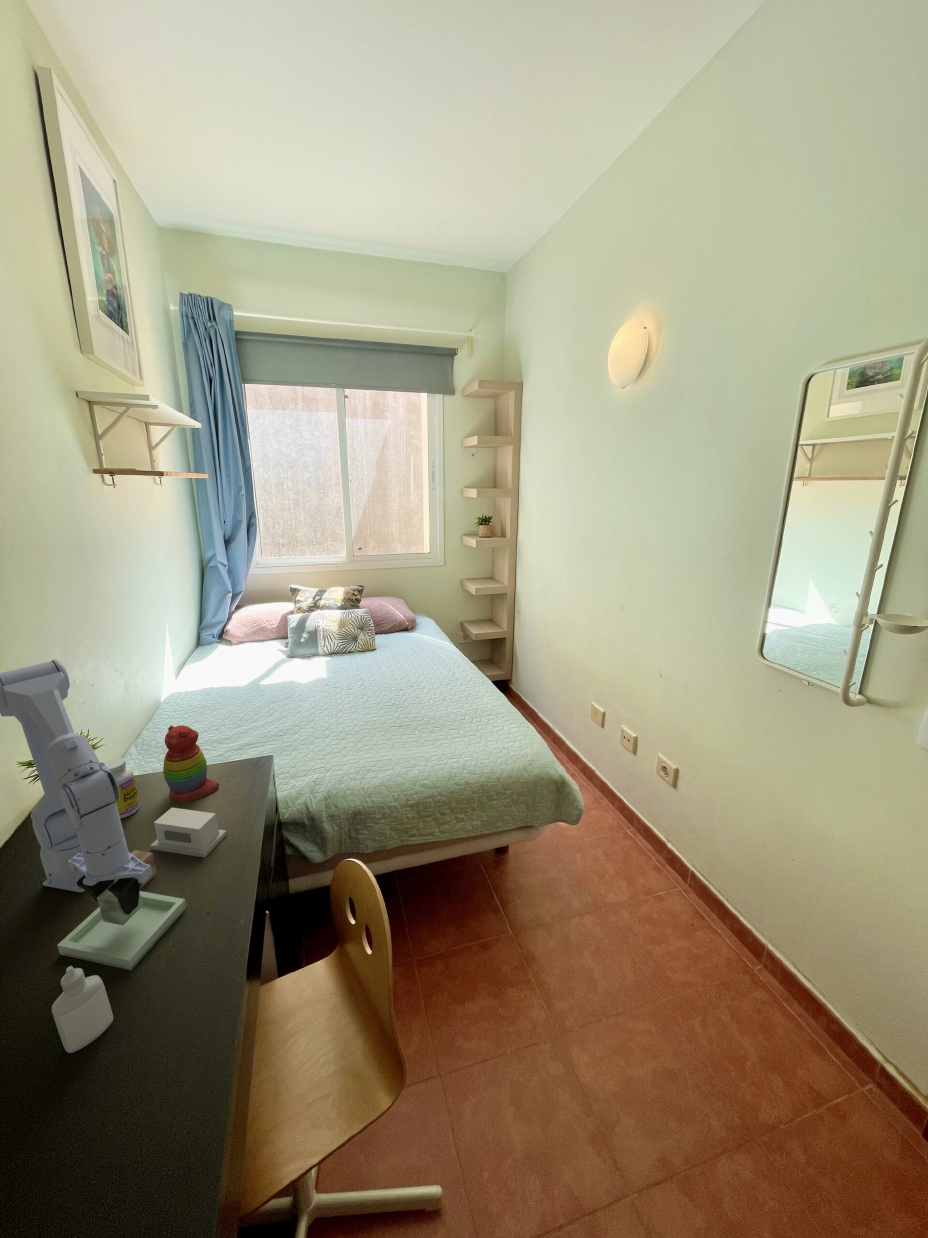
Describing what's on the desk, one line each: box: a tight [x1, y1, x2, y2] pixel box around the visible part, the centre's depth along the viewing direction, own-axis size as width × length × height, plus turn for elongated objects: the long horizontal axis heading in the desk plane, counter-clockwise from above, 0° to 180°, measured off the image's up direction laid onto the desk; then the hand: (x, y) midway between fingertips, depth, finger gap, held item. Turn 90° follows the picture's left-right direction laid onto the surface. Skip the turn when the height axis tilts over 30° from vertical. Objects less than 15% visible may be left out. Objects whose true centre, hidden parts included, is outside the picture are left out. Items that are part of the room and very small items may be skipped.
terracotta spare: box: [130, 849, 158, 890], centre depth 95 cm, size 4×4×5 cm
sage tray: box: [57, 890, 187, 971], centre depth 85 cm, size 14×12×2 cm
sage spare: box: [97, 879, 143, 925], centre depth 84 cm, size 4×4×5 cm
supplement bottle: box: [103, 757, 141, 820], centre depth 114 cm, size 7×7×13 cm
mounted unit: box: [150, 807, 228, 858], centre depth 105 cm, size 13×7×6 cm, turn 78°
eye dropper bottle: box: [51, 965, 114, 1054], centre depth 68 cm, size 4×6×12 cm
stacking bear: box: [162, 724, 220, 803], centre depth 121 cm, size 11×10×18 cm
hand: (120, 907), depth 84 cm, fingers closed on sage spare, 4 cm apart
